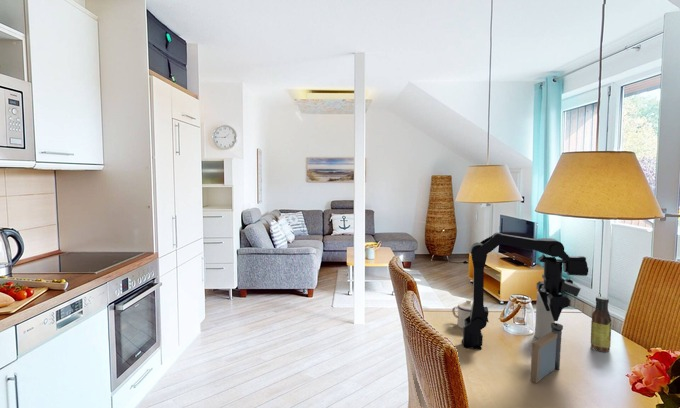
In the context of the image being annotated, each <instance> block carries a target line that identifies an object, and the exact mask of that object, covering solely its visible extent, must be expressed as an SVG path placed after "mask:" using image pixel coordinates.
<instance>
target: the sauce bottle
mask: <svg viewBox="0 0 680 408" xmlns="http://www.w3.org/2000/svg"><path fill="white" fill-rule="evenodd" d="M609 301H610V299H609V298H608V297H605V296H596V297H595V309H594V310H593V312H592V313H591V322H590V323H591V324H590V347H591V349H593V350H595V351H597V352H603V353H608V352H610V349H611V343H612V342H611V341H612V339H611V338H612V318H611V315H610V312H609V309H608V307H609Z"/></svg>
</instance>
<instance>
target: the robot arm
mask: <svg viewBox="0 0 680 408" xmlns="http://www.w3.org/2000/svg"><path fill="white" fill-rule="evenodd" d="M500 245H504V246H510V247H516V248H519V249H526V250H533V251H536V252H539V253H542V254H541V256H539V257H538V258H537V260H538V261H539V262H540V263H543V274H541V275H542V276H541V277H542V279H543V280H541V281H538V282H536V289H537V292H539V295H540V297H541V299H542V302H543V304H544V306H545V309H546V311H550V312H551V314H552V317H553V320H554V321H555V322H558V321H559V319H560V316H561V314H562V311H563V309H565V308H569V307H570V306H571V300H570V298H569V297H568V296H567V295H566V294H570V295H573V296H574V297H578V295H579V294H580V291H581V287H580V286H578V285H577V284H575V283H574V282H573V280H572V279H571V278H568V277H567V278H565V279H564V277H563V272H564V273H566V274H567V276H579V277H580V276H581V277H587V276H588V274H589V267H588V263H587V257H586V256H584V255H578V256H577V255H575V256H573V255H572V256H570V255H569V254H567V252H566V251H565V246H564V245H563V243H562V242H561V241H559V240H557V239H556V238H530V237H523V236H519V235H512V234H507V233H501V232H494V233H493V234H492V235H491V236H488V237H486V238H485V239H483V240H481V241H479V242H474V243H473V244H472V245H471V246H470V249H469V250H470V254H471V261H472V266H473V270H472V271H473V272H472V275H473V276H472V277H473V279H472V282H473V283H472V284H473V288H472V292H473V293H472V297H473V298H472V303H473V304H472V307H471V312H470V316H468V317H467V318H466V319H465V320H464V325H465V327H463V329H462V339H461V342H462V345H463V348H466V349H475V350H482V349H483V348H482V347H483V340H484V339H483V337H484V336H483V334H482V330H483V329H485V328H486V327H487V324H488V323H490V321H489V309H488V308H489V307H488V306H484V295H485V294H484V292H485V291H484V288H485V287H484V283H485V278H484V277H485V276H484V275H485V274H484V273H485V265H486V262H487V257H488V254H489V253H491V252H492V251H494V250H495V249H496V248H497V247H498V246H500ZM557 257H558V258H560V259H557Z"/></svg>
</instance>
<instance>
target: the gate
mask: <svg viewBox="0 0 680 408" xmlns="http://www.w3.org/2000/svg"><path fill="white" fill-rule="evenodd" d="M556 339H557V334H556V333H553V332H550V333H548V334H547V335H545V336H543V337H542V338H540V339H538V338H537V340H534V341H532V343H531V354H530V355H531V356H530V357H531V358H530V377H529V380H530V381H531V382H533V383H535V384H538V383H539V381H541V379H543V378H545V377H546V376H548V375H549V374H550V373H552V372H553V371H554V369H555V357H556Z"/></svg>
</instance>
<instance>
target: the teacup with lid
mask: <svg viewBox="0 0 680 408" xmlns="http://www.w3.org/2000/svg"><path fill="white" fill-rule="evenodd" d="M472 304H473V301H472V300H470V299H466V301H463V302H460V303H458V305H457V306H454V307H452V311H451V312H452V315H453V316H454V318H456V319H457V324H456V325H457V326H458V327H459V328H460V329H462V330H463V327H465V325H464V320H465V319H466V318H467V317H468V316H470V312H471V307H472ZM456 309H457V314H456V311H455V310H456Z"/></svg>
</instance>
